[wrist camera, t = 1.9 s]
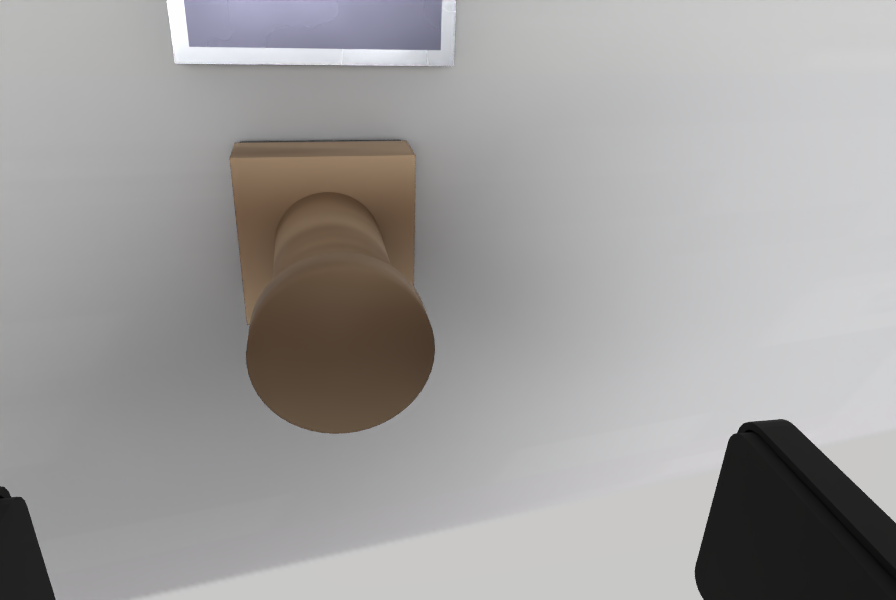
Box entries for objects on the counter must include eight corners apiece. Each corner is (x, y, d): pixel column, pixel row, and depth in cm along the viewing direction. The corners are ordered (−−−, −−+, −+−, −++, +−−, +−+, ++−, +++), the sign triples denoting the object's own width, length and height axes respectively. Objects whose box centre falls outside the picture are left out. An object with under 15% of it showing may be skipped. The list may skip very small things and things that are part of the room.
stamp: (402, 283, 24) (458, 444, 16) (251, 291, 23) (228, 467, 15) (403, 136, 21) (467, 236, 13) (236, 138, 20) (199, 247, 12)
